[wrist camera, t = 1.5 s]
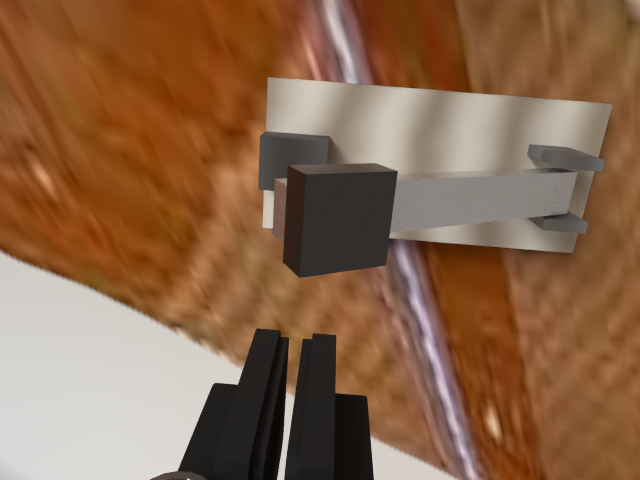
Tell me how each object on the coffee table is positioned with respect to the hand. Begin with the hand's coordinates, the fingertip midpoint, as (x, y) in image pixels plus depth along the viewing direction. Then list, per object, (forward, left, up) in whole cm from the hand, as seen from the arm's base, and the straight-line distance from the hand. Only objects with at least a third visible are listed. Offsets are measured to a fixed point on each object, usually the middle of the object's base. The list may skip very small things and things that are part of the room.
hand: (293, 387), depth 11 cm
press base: (-8, 0, -31) cm, 32 cm away
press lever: (-7, 0, -20) cm, 21 cm away
